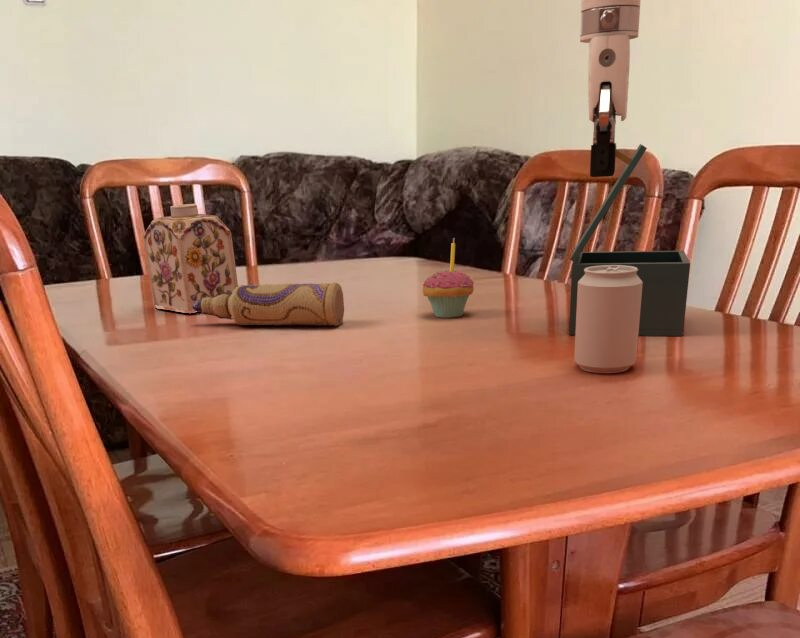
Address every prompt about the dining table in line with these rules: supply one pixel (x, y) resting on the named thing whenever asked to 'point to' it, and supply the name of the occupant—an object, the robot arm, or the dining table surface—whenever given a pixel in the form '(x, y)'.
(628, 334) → the can
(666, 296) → the chest
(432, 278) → the cupcake
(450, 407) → the dining table surface
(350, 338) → the dining table surface
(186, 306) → the decorative jar
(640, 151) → the lid
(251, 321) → the decorative bottle
